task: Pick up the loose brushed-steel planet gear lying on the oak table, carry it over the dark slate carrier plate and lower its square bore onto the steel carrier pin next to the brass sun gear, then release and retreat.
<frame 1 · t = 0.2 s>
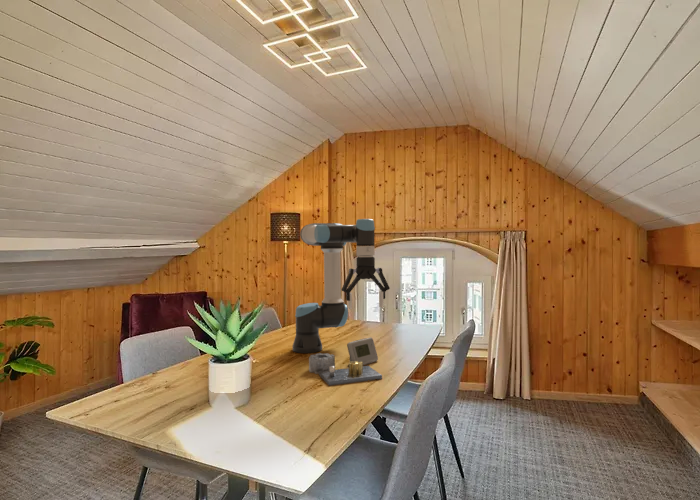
hand: (366, 308, 176), 27 cm above the table, fingers open, 13 cm apart
carrier: (350, 376, 173), on the table
planet gear: (322, 370, 182), on the table
digital clock: (362, 364, 192), on the table
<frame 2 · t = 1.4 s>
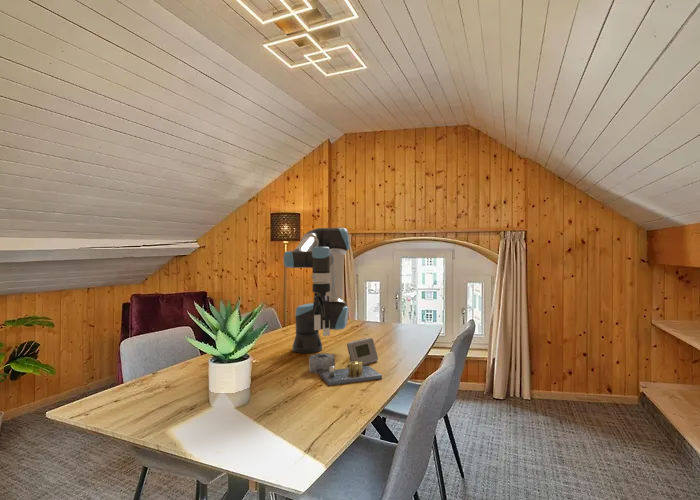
hand: (321, 332, 182), 16 cm above the table, fingers open, 13 cm apart
nothing on the table moved.
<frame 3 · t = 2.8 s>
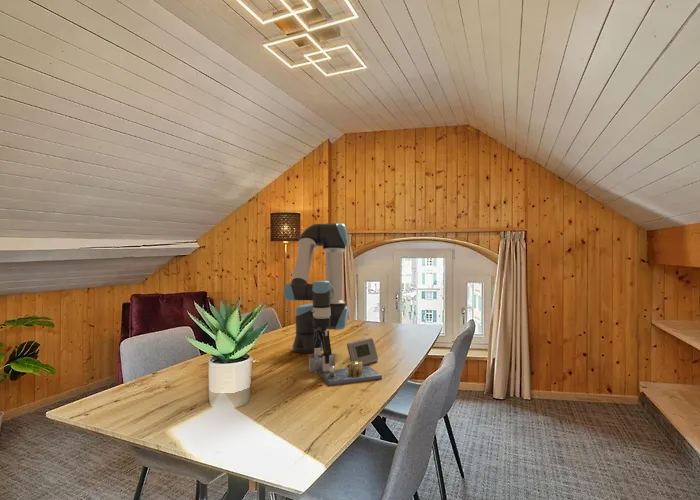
hand: (321, 366, 182), 2 cm above the table, fingers open, 13 cm apart
nothing on the table moved.
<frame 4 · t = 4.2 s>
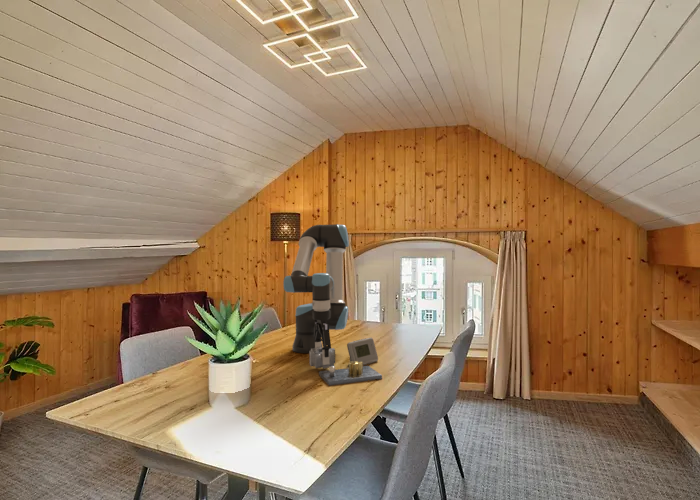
hand: (322, 360, 183), 4 cm above the table, fingers closed on planet gear, 11 cm apart
planet gear: (322, 363, 183), point 2 cm above the table, touching gripper
everything else where it was.
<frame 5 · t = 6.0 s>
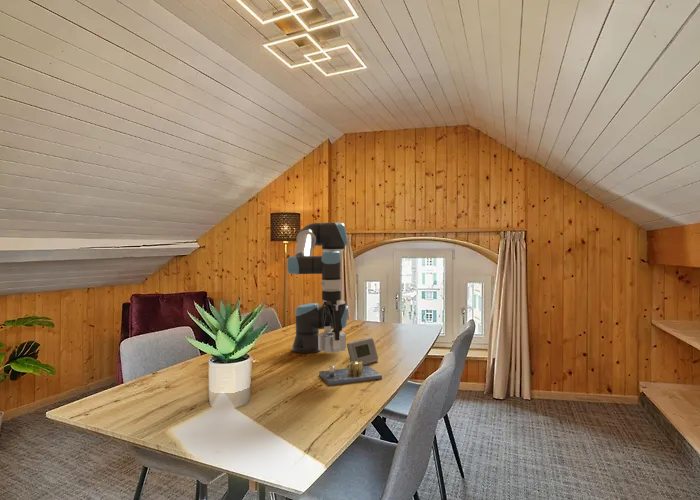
hand: (331, 345, 170), 14 cm above the table, fingers closed on planet gear, 11 cm apart
planet gear: (332, 348, 170), point 12 cm above the table, touching gripper
everything else where it was.
when the fingers open (4 cm above the table, at t = 7.8 s): planet gear drops 1 cm, resting on carrier.
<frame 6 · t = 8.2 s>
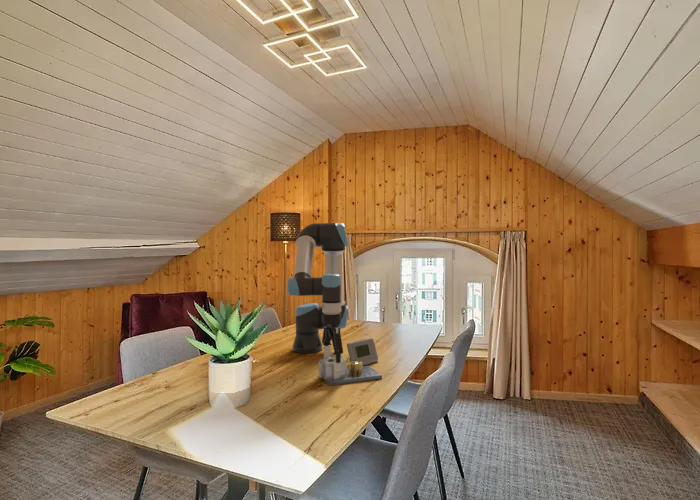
hand: (332, 366, 170), 5 cm above the table, fingers open, 13 cm apart
planet gear: (332, 375, 170), point 1 cm above the table, touching carrier
everything else where it was.
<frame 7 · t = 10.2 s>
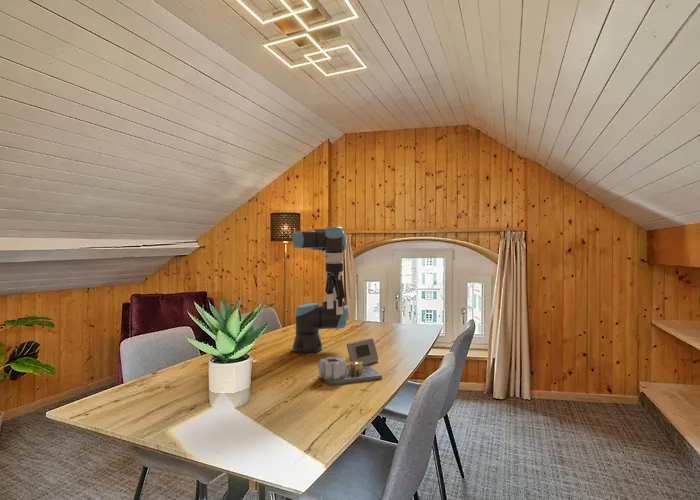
hand: (334, 311, 185), 25 cm above the table, fingers open, 13 cm apart
nothing on the table moved.
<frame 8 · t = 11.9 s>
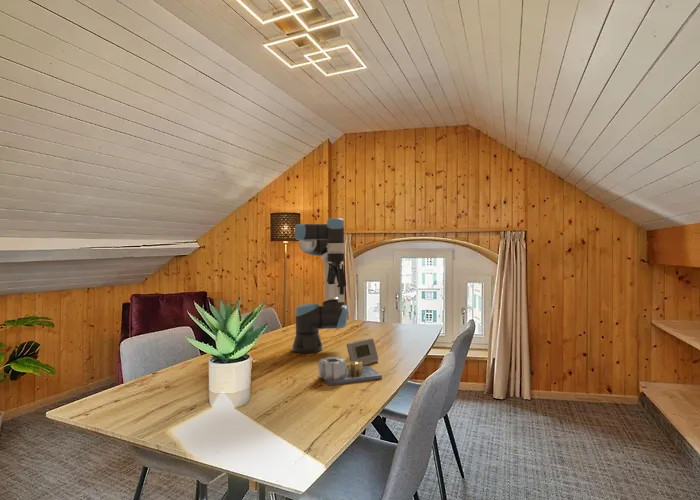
hand: (336, 300, 192), 29 cm above the table, fingers open, 13 cm apart
nothing on the table moved.
at the end: planet gear 0.1 cm from the target spot on the carrier, point 1.5 cm above the carrier's base; planet gear tilted 0°; the gripper is holding nothing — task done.
